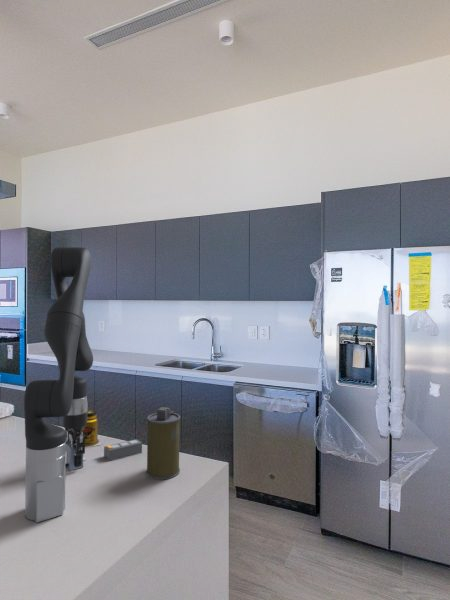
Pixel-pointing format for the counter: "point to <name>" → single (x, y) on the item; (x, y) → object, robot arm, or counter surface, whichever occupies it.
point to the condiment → (91, 429)
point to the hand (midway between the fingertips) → (74, 462)
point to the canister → (163, 444)
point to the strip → (122, 449)
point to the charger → (71, 458)
